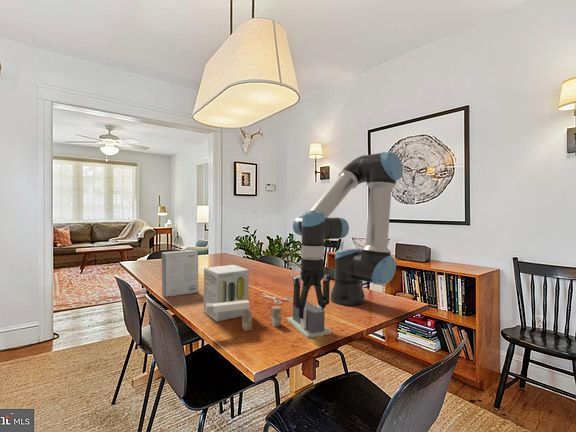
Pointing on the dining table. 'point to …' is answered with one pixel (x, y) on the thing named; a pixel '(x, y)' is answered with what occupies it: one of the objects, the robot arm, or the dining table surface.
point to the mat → (307, 332)
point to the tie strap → (226, 306)
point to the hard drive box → (179, 272)
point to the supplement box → (225, 288)
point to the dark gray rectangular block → (311, 317)
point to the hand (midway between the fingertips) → (311, 326)
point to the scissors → (276, 298)
